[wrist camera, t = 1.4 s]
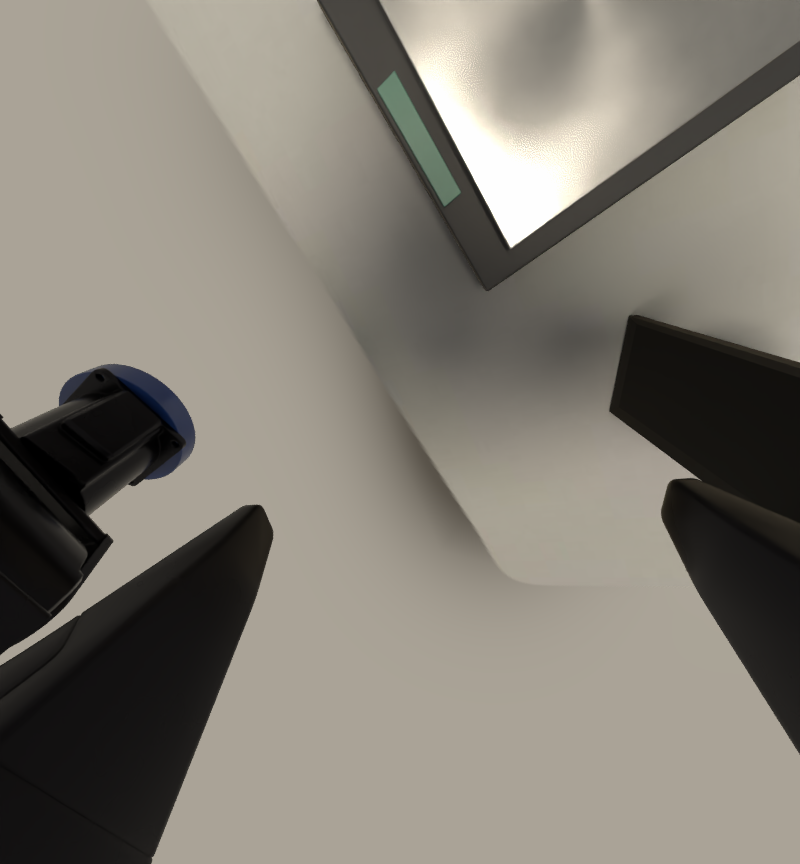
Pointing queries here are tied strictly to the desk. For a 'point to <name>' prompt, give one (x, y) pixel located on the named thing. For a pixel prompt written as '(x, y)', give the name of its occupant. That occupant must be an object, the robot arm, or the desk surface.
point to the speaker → (715, 410)
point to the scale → (557, 101)
